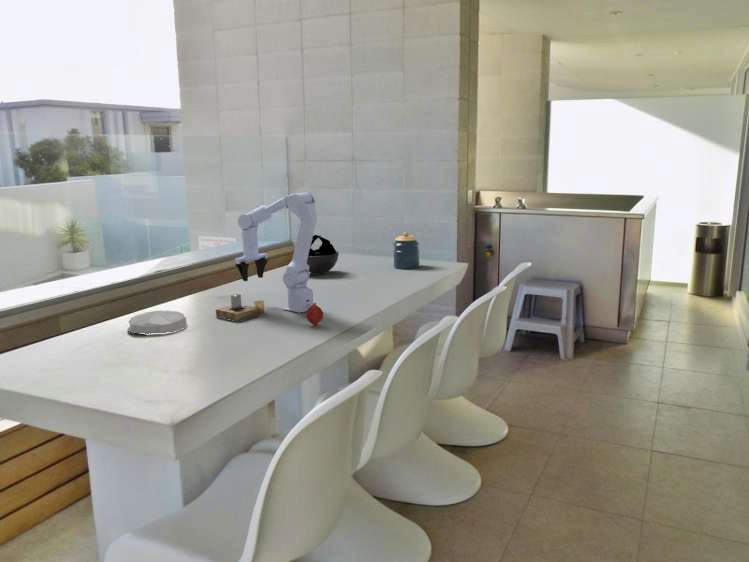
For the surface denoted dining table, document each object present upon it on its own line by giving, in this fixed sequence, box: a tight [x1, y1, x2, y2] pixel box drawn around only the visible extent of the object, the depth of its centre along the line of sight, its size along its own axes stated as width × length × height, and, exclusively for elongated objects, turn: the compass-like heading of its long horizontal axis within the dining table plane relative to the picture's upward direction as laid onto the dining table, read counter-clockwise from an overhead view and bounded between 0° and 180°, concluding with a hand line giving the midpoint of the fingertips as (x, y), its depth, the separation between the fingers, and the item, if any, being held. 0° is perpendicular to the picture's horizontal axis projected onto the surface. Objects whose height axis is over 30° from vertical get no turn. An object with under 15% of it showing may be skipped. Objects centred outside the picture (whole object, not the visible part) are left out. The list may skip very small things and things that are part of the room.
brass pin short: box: [253, 300, 266, 315], centre depth 245 cm, size 4×4×4 cm
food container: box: [127, 309, 188, 335], centre depth 229 cm, size 20×20×7 cm
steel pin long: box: [230, 293, 242, 311], centre depth 241 cm, size 4×4×8 cm
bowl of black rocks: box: [307, 234, 340, 275], centre depth 317 cm, size 20×20×19 cm
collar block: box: [215, 304, 260, 322], centre depth 241 cm, size 12×10×3 cm
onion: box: [305, 302, 324, 326], centre depth 225 cm, size 6×6×8 cm
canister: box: [392, 231, 420, 270], centre depth 327 cm, size 13×13×18 cm
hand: (252, 279), depth 257 cm, fingers open, 7 cm apart
